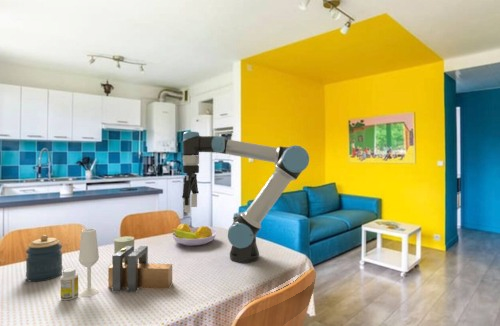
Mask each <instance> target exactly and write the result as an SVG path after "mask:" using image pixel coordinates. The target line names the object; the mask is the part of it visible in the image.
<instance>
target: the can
mask: <svg viewBox="0 0 500 326" xmlns="http://www.w3.org/2000/svg"><path fill="white" fill-rule="evenodd" d="M113 243H114V254H115V253H117V252H118V251H120V250H121V249H123V248H124V247H126V246H134V247H135V236H131V235H130V236H129V235H126V236H120V237H117V238H116V237H115V238H114V239H113ZM123 263H125V258H123Z"/></svg>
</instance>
